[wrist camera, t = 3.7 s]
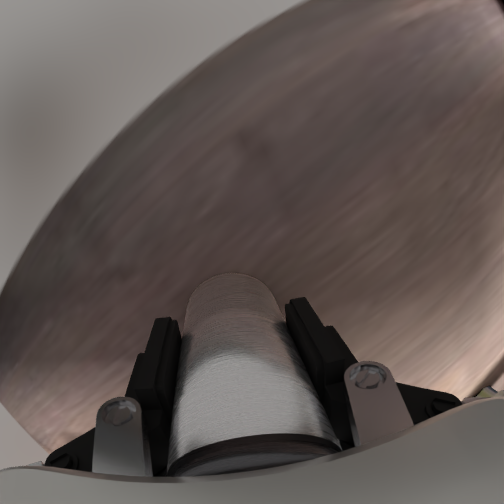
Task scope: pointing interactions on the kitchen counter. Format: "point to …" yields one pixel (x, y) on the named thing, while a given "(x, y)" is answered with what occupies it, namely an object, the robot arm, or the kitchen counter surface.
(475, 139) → the kitchen counter surface
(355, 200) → the kitchen counter surface
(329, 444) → the cylinder
